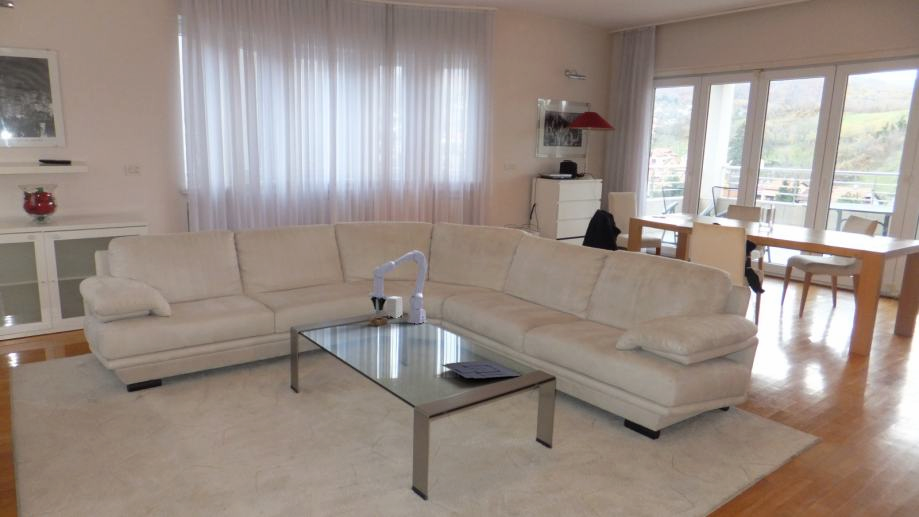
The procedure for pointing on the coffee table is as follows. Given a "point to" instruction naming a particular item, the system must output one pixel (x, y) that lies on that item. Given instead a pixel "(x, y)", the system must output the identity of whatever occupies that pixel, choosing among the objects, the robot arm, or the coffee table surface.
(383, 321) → the brown square frame
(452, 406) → the coffee table surface
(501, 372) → the grey flat block
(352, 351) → the coffee table surface
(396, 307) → the supplement box
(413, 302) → the robot arm
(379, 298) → the dowel
